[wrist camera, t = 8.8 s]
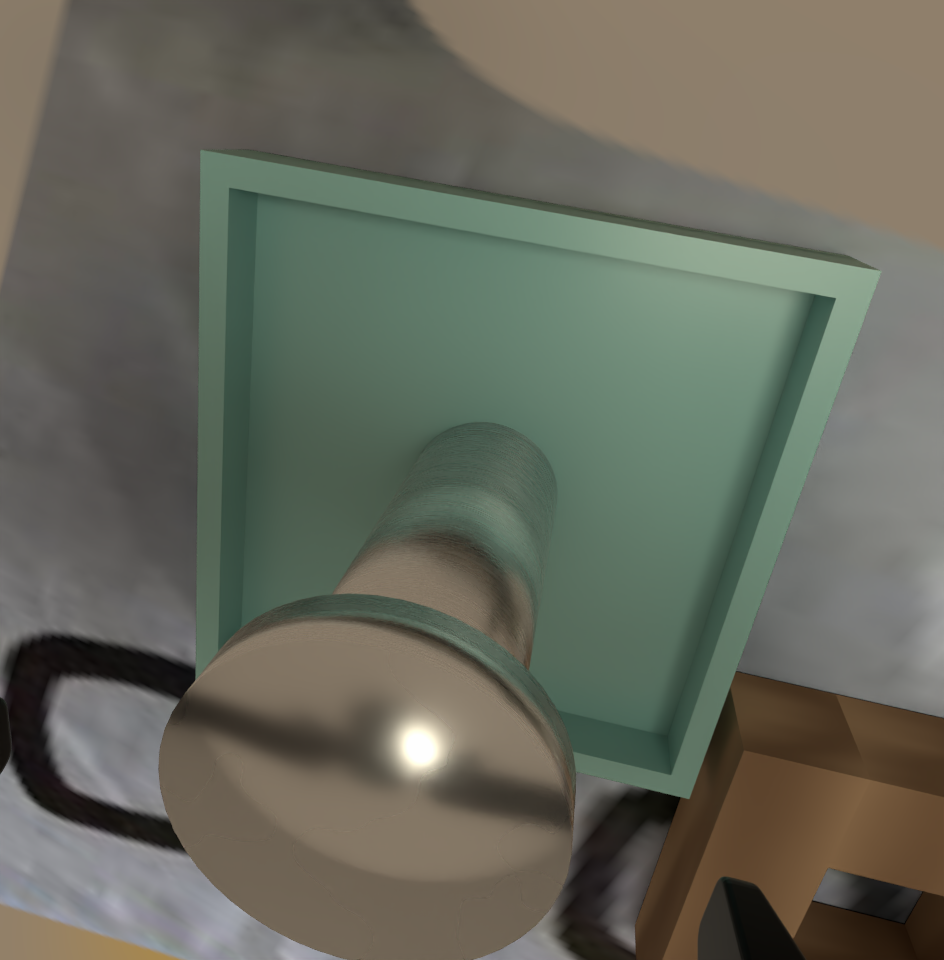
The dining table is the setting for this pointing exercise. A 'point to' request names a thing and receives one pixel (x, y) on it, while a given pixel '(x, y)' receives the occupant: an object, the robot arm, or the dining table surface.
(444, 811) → the steel pin
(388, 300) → the tray
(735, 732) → the block
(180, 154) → the dining table surface
